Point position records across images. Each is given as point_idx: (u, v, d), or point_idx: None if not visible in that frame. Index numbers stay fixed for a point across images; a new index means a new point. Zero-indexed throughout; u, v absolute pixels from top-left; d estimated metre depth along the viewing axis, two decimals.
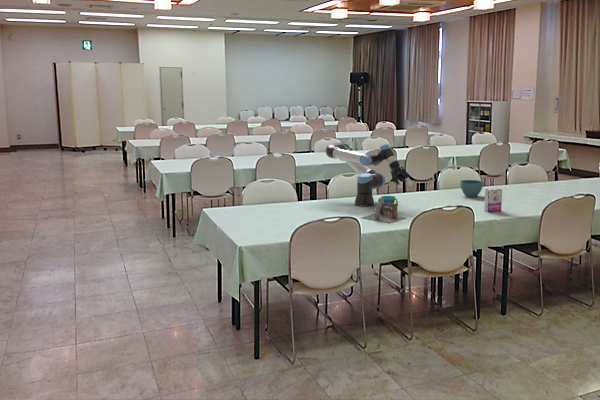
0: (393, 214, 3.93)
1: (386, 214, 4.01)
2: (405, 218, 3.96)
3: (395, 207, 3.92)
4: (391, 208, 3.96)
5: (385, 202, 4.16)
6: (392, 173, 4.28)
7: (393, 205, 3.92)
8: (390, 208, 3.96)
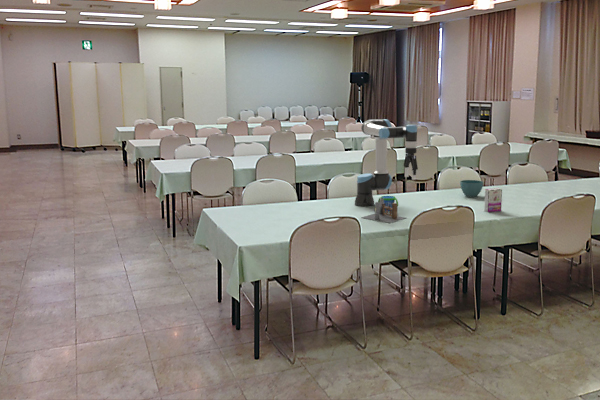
0: (393, 214, 3.93)
1: (386, 214, 4.01)
2: (405, 218, 3.96)
3: (395, 207, 3.92)
4: (391, 208, 3.96)
5: (385, 202, 4.16)
6: (414, 161, 3.88)
7: (393, 205, 3.92)
8: (390, 208, 3.96)
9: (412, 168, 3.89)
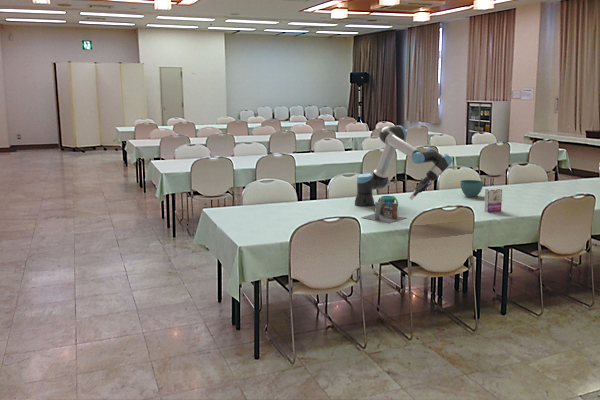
0: (393, 214, 3.93)
1: (386, 214, 4.01)
2: (405, 218, 3.96)
3: (395, 207, 3.92)
4: (391, 208, 3.96)
5: (385, 202, 4.16)
6: (425, 186, 3.89)
7: (393, 205, 3.92)
8: (390, 208, 3.96)
9: (417, 188, 3.92)
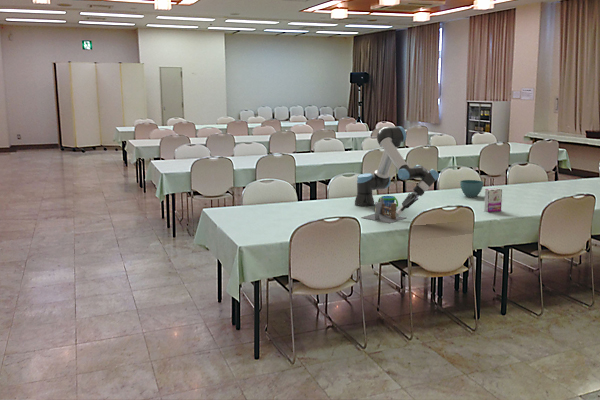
0: (392, 214, 3.93)
1: (385, 214, 4.01)
2: (405, 218, 3.96)
3: (394, 207, 3.91)
4: (390, 208, 3.95)
5: (385, 202, 4.16)
6: (412, 201, 3.88)
7: (392, 205, 3.92)
8: (389, 208, 3.96)
9: (404, 204, 3.92)
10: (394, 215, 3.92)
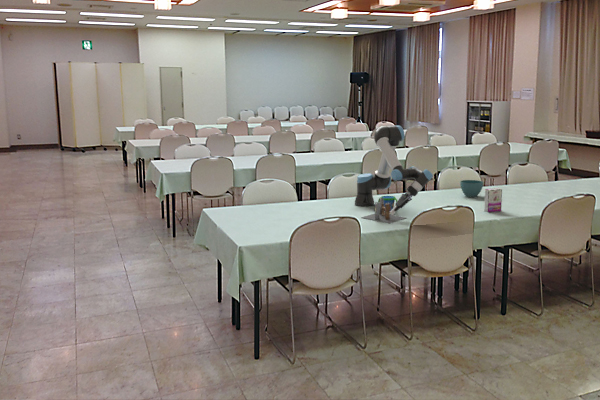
0: (385, 214, 3.92)
1: (383, 214, 4.01)
2: (405, 218, 3.96)
3: (387, 208, 3.90)
4: None
5: (385, 202, 4.16)
6: (406, 201, 3.88)
7: (385, 205, 3.91)
8: (385, 208, 3.95)
9: (398, 204, 3.91)
10: (387, 216, 3.91)
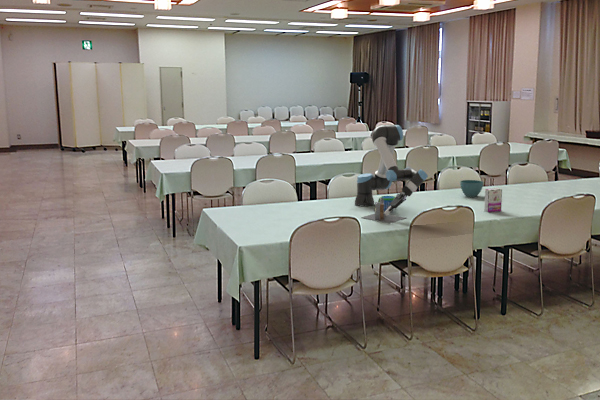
0: None
1: None
2: (405, 218, 3.96)
3: (381, 208, 3.90)
4: None
5: (385, 202, 4.16)
6: (400, 201, 3.87)
7: None
8: None
9: (392, 204, 3.91)
10: (381, 216, 3.91)
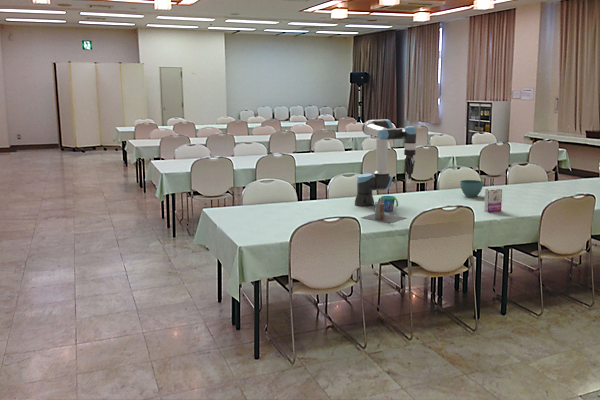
0: None
1: None
2: (405, 218, 3.96)
3: (381, 208, 3.90)
4: None
5: (385, 202, 4.16)
6: (412, 166, 3.89)
7: None
8: None
9: (407, 171, 3.94)
10: (381, 216, 3.91)
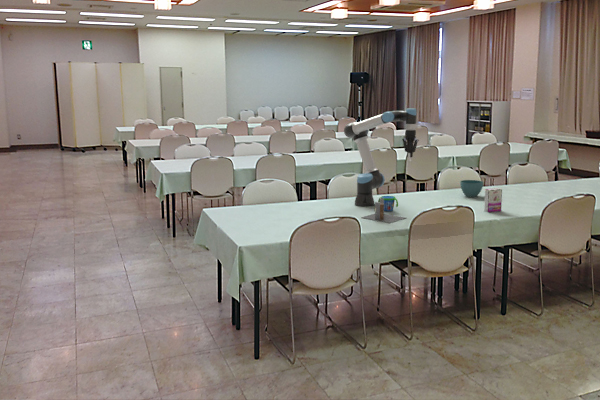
0: None
1: None
2: (405, 218, 3.96)
3: (381, 208, 3.90)
4: None
5: (385, 202, 4.16)
6: None
7: None
8: None
9: None
10: (381, 216, 3.91)
